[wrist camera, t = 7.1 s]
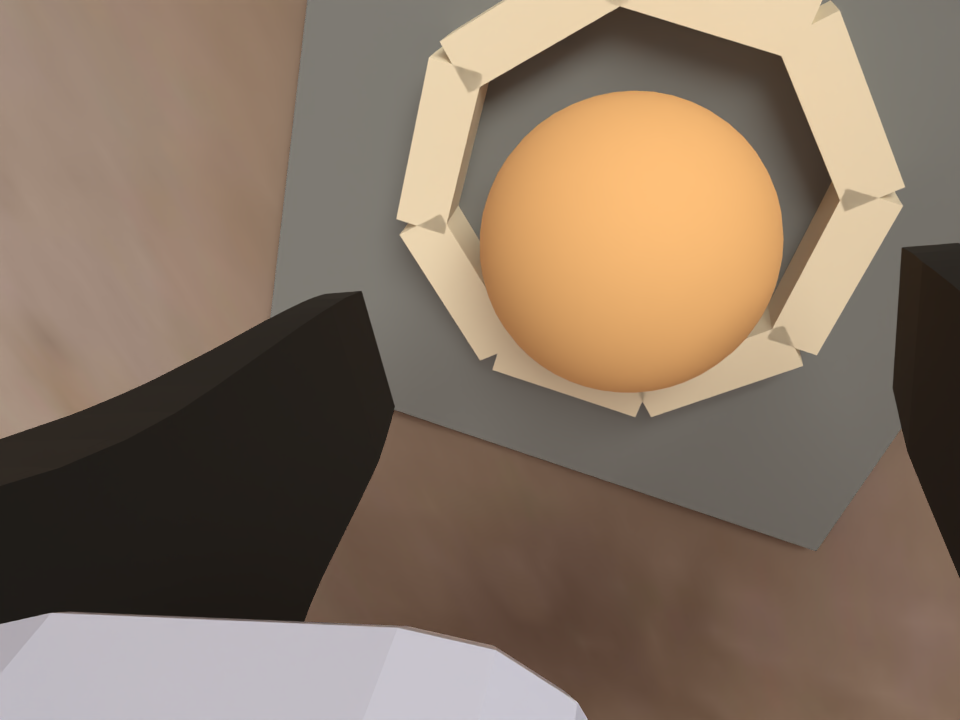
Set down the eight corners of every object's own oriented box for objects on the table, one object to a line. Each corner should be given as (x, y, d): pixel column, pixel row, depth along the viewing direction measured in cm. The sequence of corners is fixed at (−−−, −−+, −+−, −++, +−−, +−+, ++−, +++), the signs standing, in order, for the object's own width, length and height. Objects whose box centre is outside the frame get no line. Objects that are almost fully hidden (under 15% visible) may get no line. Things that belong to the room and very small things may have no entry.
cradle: (1250, -102, 12) (1309, -96, 11) (814, 539, 20) (821, 582, 19) (359, -360, 13) (326, -381, 12) (271, 357, 21) (246, 388, 20)
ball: (767, 39, 14) (801, 120, 10) (771, 297, 17) (801, 449, 13) (486, 82, 16) (414, 169, 11) (528, 315, 18) (482, 457, 14)
